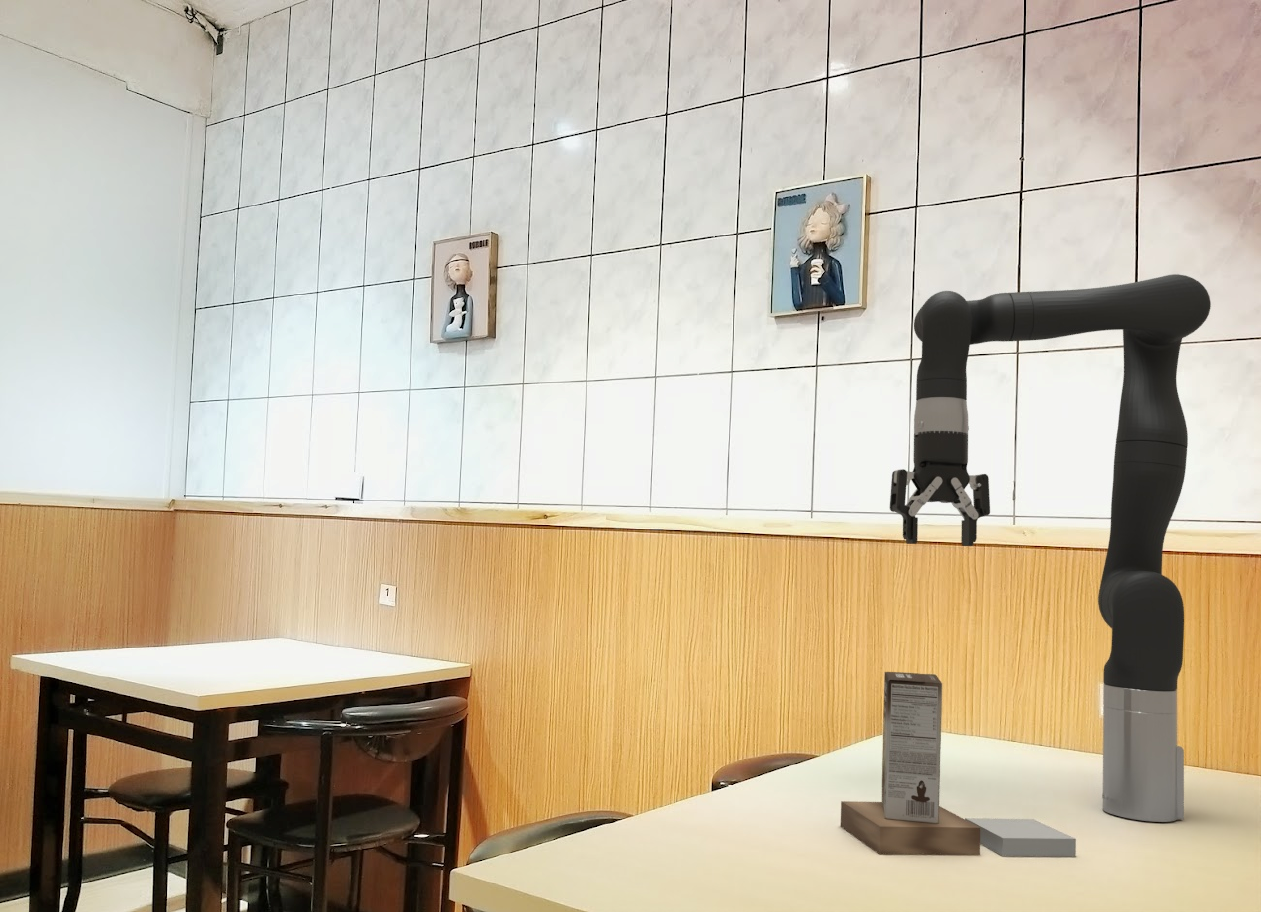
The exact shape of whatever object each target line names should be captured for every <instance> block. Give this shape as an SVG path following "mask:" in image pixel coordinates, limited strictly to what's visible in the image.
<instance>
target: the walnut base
mask: <svg viewBox="0 0 1261 912" xmlns="http://www.w3.org/2000/svg"><path fill="white" fill-rule="evenodd" d="M840 803H841V805H840V827H841V828H842V829H844V831H846V832H848V833H849V834H850V835H852V836H854V838H856V839H857V840H859V841H861V842H862V843H863V844H865V845H866V846H867V847H869V848H870V849H871V850H873V851H874V852H876V853H877V854H878V855H929V856H930V855H931V856H932V855H936V856H938V855H941V856H942V855H943V856H945V855H947V856H949V855H950V856H953V855H954V856H956V855H957V856H958V855H959V856H962V855H963V856H966V855H967V856H981V844H980V827H978V826H976V825H974V824H973V823H971V822H969V821H967V820H965V818H963V817H961V816H959V815H958V814H956V813H953V812H952V811H950V810H948V809H946V808H944V807H942V806H941V805H939V823H938V824H936V823H926V822H915V821H904V820H893V819H886V818H885V817H884V811H883V805H882V801H856V800H855V801H854V800H853V801H849V800H848V801H847V800H846V801H845V800H843V801H842V800H841V802H840Z"/></svg>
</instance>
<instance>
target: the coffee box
mask: <svg viewBox="0 0 1261 912" xmlns="http://www.w3.org/2000/svg"><path fill="white" fill-rule="evenodd" d="M883 685H884V687H883V713H882V714H883V715H882V716H883V719H882V723H883V724H882V751H881V752H882V753H881V754H882V758H881V759H882V762H881V766H882V767H881V802H882V805H883V811H884V817H885V818H886V819H893V820H904V821H915V822H926V823H936V824H938V823H939V806H940V787H941V784H940V782H941V781H940V780H941V779H940V778H941V777H940V775H941V748H942V747H941V744H942V708H943V707H942V706H943V683H942V681H941V680H940V679H939V677H938V676H937V675H936V674H935V673H933V674H931V673H915V672H902V671H901V672H900V671H898V672H897V671H884V683H883Z"/></svg>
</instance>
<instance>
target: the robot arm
mask: <svg viewBox="0 0 1261 912" xmlns="http://www.w3.org/2000/svg"><path fill="white" fill-rule="evenodd" d="M924 302H925V303H923V305H922V306H921V307H920V308H919V310H918V311H917V313H916V314H915V317H914V320H913V331H914V333H915V335H916V338H918V340H919V341H920V342H921V359H920V362H919V364H918V367H917V372H916V381H915V383H916V387H915V390H916V393H915V396H916V397H915V407H914V408H915V410H914V415H913V416H914V418H913V469H912V471H908V470H906V469H904V468H903V469H897V470H893V471H892V474H891V481H890V482H891V485H890V494H889V495H890V498H889V511H891V512H892V513H896V514H899V515H900V516H901V517H902V538H903V540H905V542H906V544H907V545H916V544H917V543H918V526H919V524H918V523H919V521H918V519H919V518H918V517H916V515H917V514H918V513H919V511H920V510H921V509H922V507H923V506H925V505H926V504H927V503H937V502H939V503H942V504H951V505H952V506H953V508H955V509H956V510H957V511H958V513H959V514H960V516H961V517H962V520H961V537H960V538H961V539H960V540H961V546H962V547H973V546H974V543H976V541H977V538H978V537H977V536H978V535H977V531H978V529H977V528H978V527H977V526H978V519H980V518H982V517H985V516H989V515H990V513H991V504H990V502H991V501H990V500H991V499H990V482H989V480H990V479H989V475H988V474H987V473H981V474H975V475H974V474H973V475H970V473H969V471H968V469H967V468H968V464H969V463H968V462H969V431H970V430H969V429H970V428H969V427H970V426H969V412H968V403H967V401H968V400H967V399H968V393H967V392H968V380H967V379H968V376H967V365H968V357H969V353H970V347H971V345H978V344H984V343H988V342H989V343H990V342H1024V341H1026V342H1027V341H1040V340H1041V341H1043V340H1049V339H1050V340H1051V339H1056V338H1063V337H1068V336H1074V335H1079V334H1080V335H1081V334H1086V333H1092V332H1101V331H1116V330H1117V331H1118V330H1122V341H1123V342H1122V343H1123V344H1122V345H1123V380H1122V389H1121V395H1120V403H1119V410H1118V411H1119V412H1118V423H1117V431H1116V437H1115V446H1114V447H1115V448H1114V459H1113V472H1112V473H1113V476H1112V487H1111V488H1112V490H1111V505H1110V506H1111V507H1110V528H1109V529H1110V531H1109V541H1108V545H1107V546H1108V547H1107V551H1106V556H1105V560H1104V567H1103V570H1102V574H1101V575H1102V576H1101V580H1100V584H1099V590H1098V598H1097V603H1098V609H1099V613H1100V615H1101V617H1102V620H1103V621H1104V622H1105V623H1106V625H1107V626H1108V627H1109V628H1111V647H1110V653H1109V654H1110V655H1109V656H1108V660H1107V661H1106V662H1105V664H1104V667H1103V687H1102V689H1103V690H1102V691H1103V692H1102V693H1103V694H1102V695H1103V697H1102V699H1103V700H1102V705H1103V706H1102V707H1103V711H1102V715H1103V717H1102V721H1103V723H1102V796H1101V797H1102V798H1101V799H1102V811H1104V812H1106V813H1108V814H1111V815H1114V816H1118V817H1122V818H1124V819H1125V818H1126V819H1130V820H1137V821H1143V822H1144V821H1145V822H1158V823H1160V822H1161V823H1170V822H1174V821H1178V820H1184V819H1185V767H1184V766H1185V752H1184V751H1185V750H1184V748H1183V747H1182V746H1180V745H1178V679H1179V676H1180V673H1181V670H1182V667H1183V661H1184V660H1183V659H1184V637H1185V636H1184V635H1185V606H1184V600H1183V596H1182V594H1181V591H1180V590H1179V588H1178V586H1177V585H1176V584H1175V583H1174V582H1173V581H1172V580H1171V579H1170V578H1169V577H1167V576H1165V575H1163V573H1162V572H1163V570H1162V569H1163V550H1164V544H1165V543H1164V541H1165V537H1166V533H1167V530H1168V527H1169V524H1170V522H1171V520H1172V517H1173V514H1174V512H1175V510H1176V507H1177V504H1178V503H1179V500H1180V496H1181V493H1182V490H1183V486H1184V482H1185V481H1184V480H1185V476H1186V469H1187V468H1186V467H1187V456H1188V444H1189V443H1188V440H1189V439H1188V438H1189V437H1188V428H1187V421H1186V419H1185V418H1186V417H1185V414H1184V411H1183V407H1182V404H1181V401H1180V397H1179V396H1180V395H1179V393H1178V392H1179V391H1178V385H1177V384H1178V383H1177V372H1178V366H1179V365H1178V363H1179V356H1180V351H1181V345H1182V341H1183V339H1184V338H1186V337H1188V336H1189V335H1191V334H1193V333H1194V332H1196V331H1197V330H1198V329H1199V328H1200V327H1201V326H1203V324H1204V323H1205V321H1207V319H1208V316H1209V315H1210V312H1211V311H1210V310H1211V307H1212V306H1211V305H1212V304H1211V298H1210V294H1209V292H1208V290H1207V289H1206V287H1205V286H1204V285H1203V284H1202V283H1201V282H1200V281H1199V280H1197V279H1195V278H1193V277H1191V276H1189V275H1185V274H1179V273H1175V274H1167V275H1163V276H1159V277H1155V278H1154V277H1153V278H1150V279H1149V278H1148V279H1145V280H1140V281H1136V282H1135V281H1134V282H1130V283H1124V284H1119V285H1118V284H1115V285H1111V286H1110V285H1109V286H1103V287H1101V286H1100V287H1094V288H1092V287H1091V288H1079V289H1065V290H1043V291H1040V290H1039V291H1018V292H1017V291H1016V292H1015V291H1014V292H1001V293H1000V292H999V293H995V294H991V295H988V296H986V297H984V298H980V299H976V300H975V299H974V300H966V299H965V297H964V296H962V295H961V294H959V293H958V292H955V291H952V290H943V291H939V292H936V293H934V294H933V295H931V296H930V297H929V298H927V300H926V301H924ZM910 482H912V483H913V485H914V487H915V488H916V489H915V490H914V492H913V493H912V495H910V497H909V498H908V501H907V503H906V499H907V498H906V494H907V486H908V485H910ZM968 485H969V488H970V489H971V490H972V495H973V496H972V497H973V498H972V499H973V502H972V500H971V498H970V495H968V493H967V492H966V490H965V489H966V488H967V486H968ZM972 503H973V504H972Z"/></svg>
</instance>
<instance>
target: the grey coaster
mask: <svg viewBox="0 0 1261 912" xmlns="http://www.w3.org/2000/svg"><path fill="white" fill-rule="evenodd" d="M964 819H965V820H967V821H969V822H971V823H973V824H974V825H976V826H978V827H980V845H982V846H983V847H985V848H987V849H988V850H991V851H993V852H995V853H996V854H998V855H1000V856H1002V857H1038V858H1039V857H1047V858H1048V857H1051V858H1053V857H1059V858H1062V857H1063V858H1065V857H1066V858H1068V857H1069V858H1072V857H1073V858H1074V857H1075V858H1076V856H1077V855H1076V852H1077V850H1076V849H1077V847H1076V846H1077V845H1076V844H1077V839H1076V838H1075V837H1073V836H1071V835H1068V834H1066V833H1064V832H1063V831H1060V830H1058V829H1056V828H1054V827H1052V826H1049V825H1047V824H1045V823H1043V822H1041V821H1039V820H1036V819H1034V818H986V817H985V818H981V817H980V818H977V817H976V818H973V817H971V818H970V817H965V818H964Z"/></svg>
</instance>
